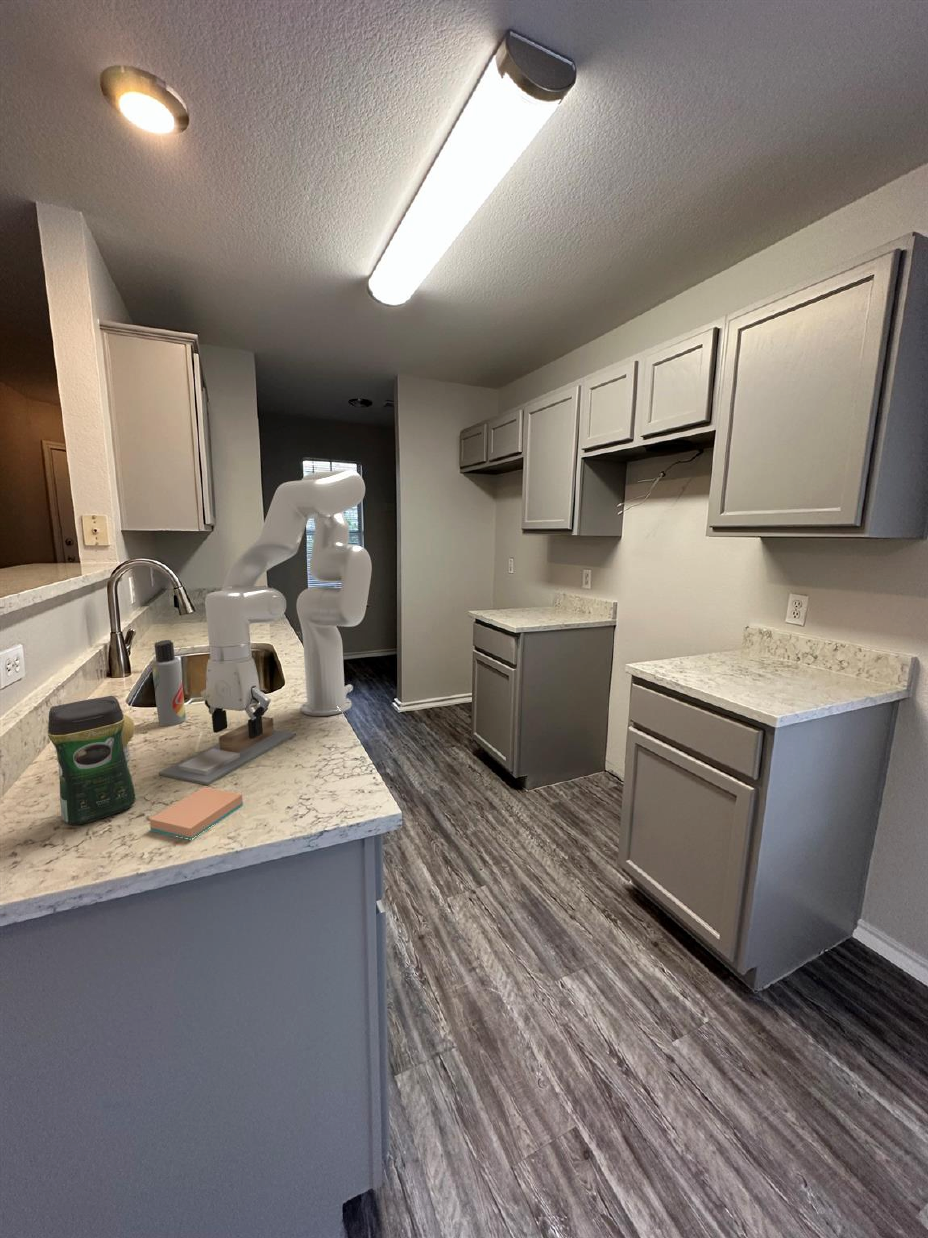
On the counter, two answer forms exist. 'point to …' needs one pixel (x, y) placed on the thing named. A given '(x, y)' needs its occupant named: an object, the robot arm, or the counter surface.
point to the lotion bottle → (168, 685)
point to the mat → (244, 758)
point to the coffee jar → (91, 759)
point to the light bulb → (127, 734)
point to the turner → (226, 749)
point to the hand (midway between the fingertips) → (238, 733)
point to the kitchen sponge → (196, 813)
